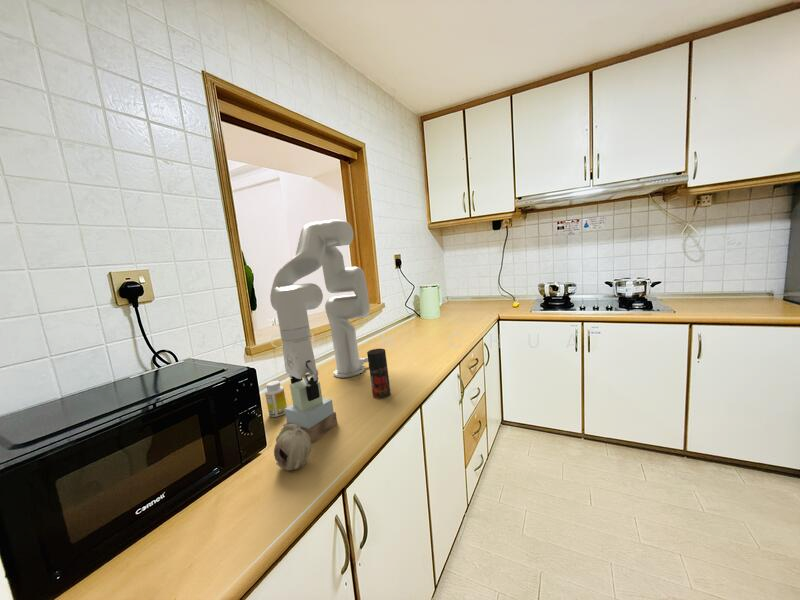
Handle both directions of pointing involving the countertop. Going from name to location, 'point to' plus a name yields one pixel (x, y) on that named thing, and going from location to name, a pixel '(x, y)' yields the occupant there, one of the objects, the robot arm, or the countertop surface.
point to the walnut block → (320, 427)
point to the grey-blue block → (309, 414)
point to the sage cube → (303, 396)
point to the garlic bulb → (292, 447)
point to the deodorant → (379, 373)
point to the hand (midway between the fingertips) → (305, 394)
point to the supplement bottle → (275, 399)
